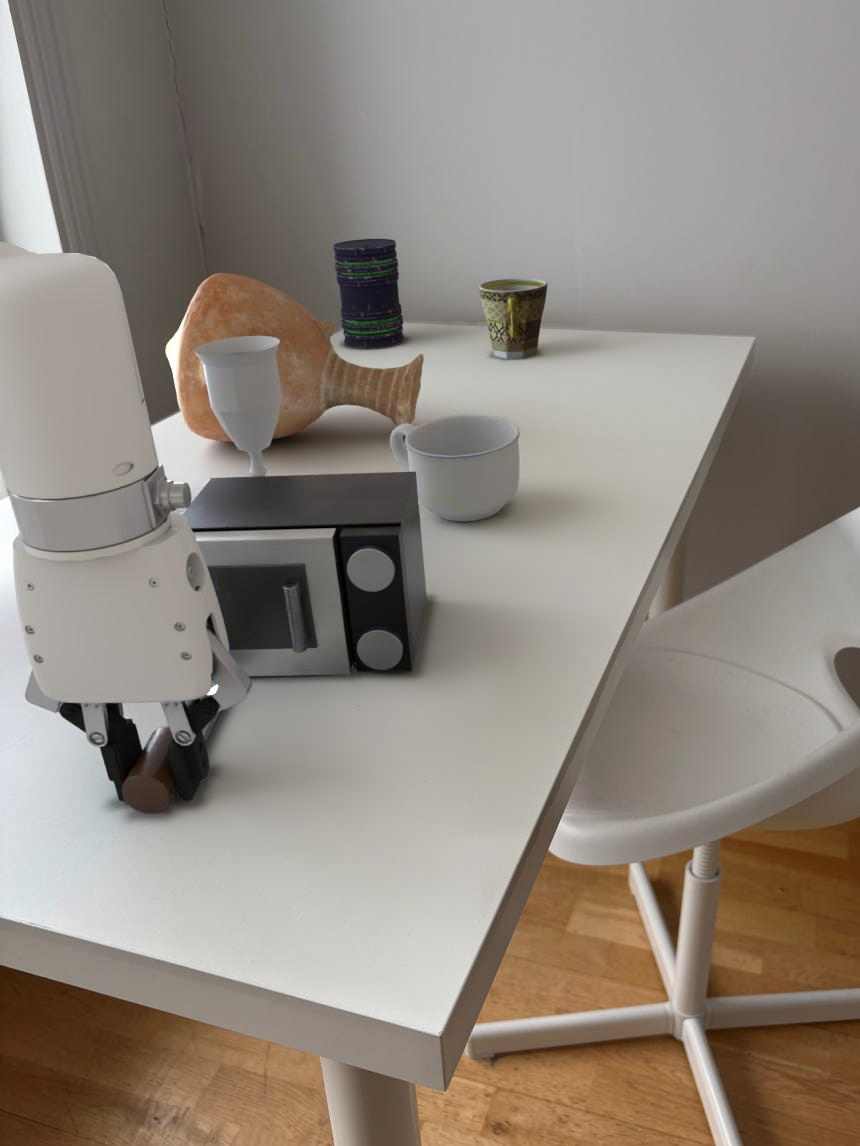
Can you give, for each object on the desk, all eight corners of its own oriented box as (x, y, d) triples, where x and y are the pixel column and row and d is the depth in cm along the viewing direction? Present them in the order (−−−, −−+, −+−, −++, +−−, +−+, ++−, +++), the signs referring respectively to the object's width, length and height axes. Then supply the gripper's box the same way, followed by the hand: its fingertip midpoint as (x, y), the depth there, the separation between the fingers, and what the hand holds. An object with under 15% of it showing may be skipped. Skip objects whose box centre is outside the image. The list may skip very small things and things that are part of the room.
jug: (197, 315, 129) (432, 334, 129) (180, 459, 127) (418, 478, 126) (147, 233, 109) (424, 255, 109) (125, 402, 107) (408, 424, 107)
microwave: (410, 679, 72) (396, 536, 66) (189, 683, 73) (158, 543, 67) (426, 599, 82) (416, 471, 77) (234, 604, 84) (210, 477, 78)
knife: (173, 813, 60) (163, 775, 58) (127, 813, 60) (116, 775, 59) (230, 694, 71) (223, 660, 70) (191, 695, 71) (183, 661, 70)
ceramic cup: (483, 347, 157) (480, 279, 152) (548, 344, 156) (546, 276, 151) (480, 368, 145) (476, 296, 140) (549, 365, 145) (548, 293, 140)
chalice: (249, 562, 91) (213, 360, 82) (218, 539, 95) (181, 346, 87) (321, 539, 94) (294, 344, 85) (288, 519, 99) (259, 332, 90)
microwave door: (346, 687, 71) (327, 547, 66) (184, 690, 72) (153, 552, 66) (353, 663, 74) (336, 527, 69) (198, 666, 75) (169, 532, 69)
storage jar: (342, 337, 167) (330, 241, 160) (401, 332, 168) (392, 236, 161) (346, 351, 159) (334, 250, 151) (408, 345, 160) (399, 245, 153)
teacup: (544, 506, 99) (543, 426, 95) (464, 542, 92) (458, 457, 88) (448, 475, 107) (442, 401, 104) (368, 506, 101) (359, 428, 97)
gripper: (262, 477, 56) (307, 749, 65) (-24, 486, 57) (59, 752, 66) (226, 531, 49) (281, 825, 58) (-97, 540, 50) (7, 828, 59)
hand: (163, 784), depth 62 cm, fingers open, 3 cm apart
